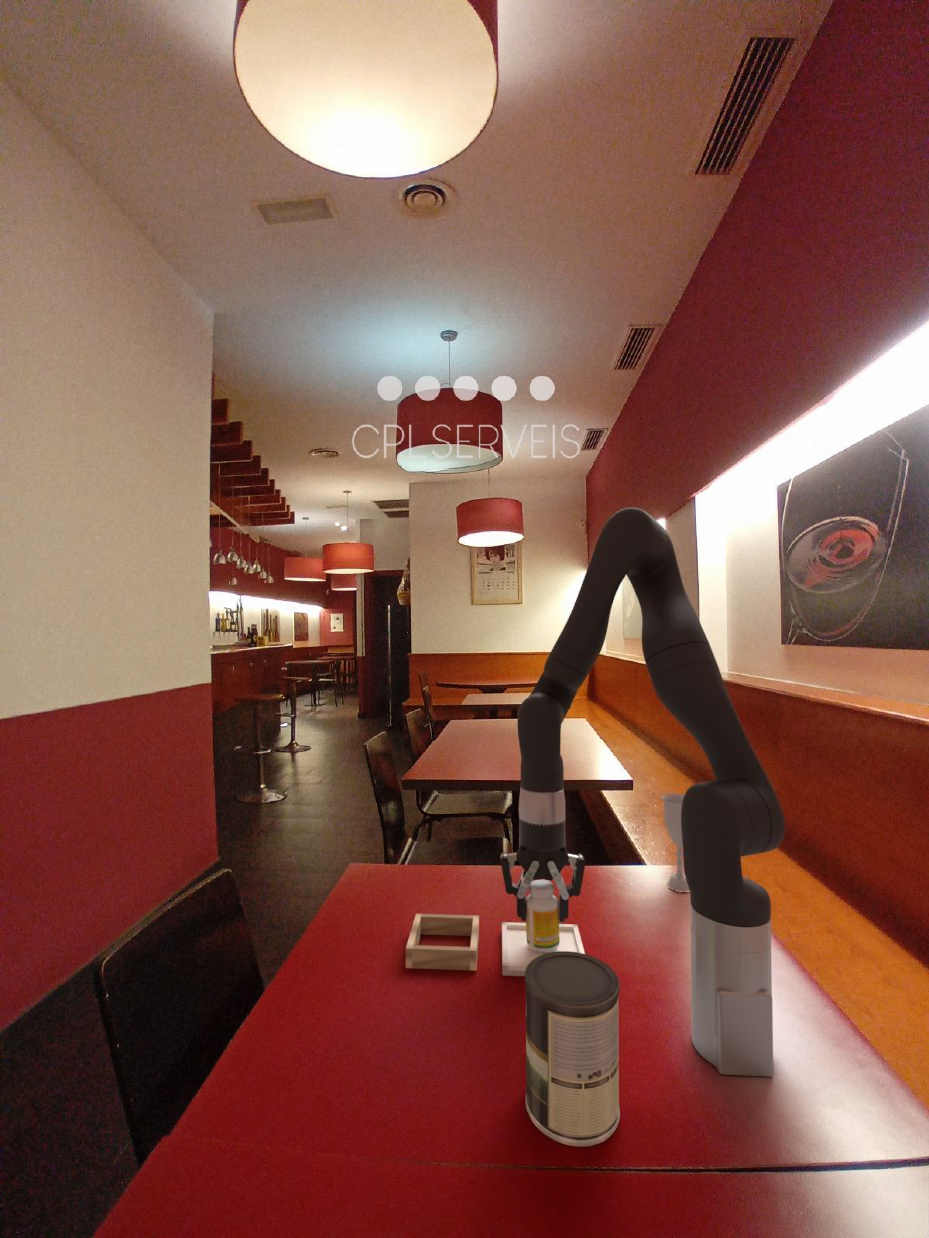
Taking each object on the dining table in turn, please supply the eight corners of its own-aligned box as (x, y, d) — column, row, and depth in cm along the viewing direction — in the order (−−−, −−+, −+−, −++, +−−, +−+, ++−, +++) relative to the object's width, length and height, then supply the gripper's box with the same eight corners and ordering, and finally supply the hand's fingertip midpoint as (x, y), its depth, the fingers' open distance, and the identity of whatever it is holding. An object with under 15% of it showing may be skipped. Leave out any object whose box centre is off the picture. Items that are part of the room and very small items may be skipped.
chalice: (703, 895, 113) (702, 804, 113) (669, 895, 113) (668, 803, 114) (689, 879, 120) (689, 793, 121) (657, 879, 120) (656, 793, 121)
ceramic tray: (588, 978, 86) (588, 968, 86) (502, 975, 86) (502, 965, 86) (577, 933, 99) (577, 924, 99) (502, 930, 99) (502, 922, 99)
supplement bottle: (519, 943, 93) (517, 884, 93) (542, 932, 96) (540, 874, 97) (544, 957, 89) (541, 894, 89) (567, 944, 92) (564, 884, 92)
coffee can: (506, 1111, 62) (506, 979, 62) (555, 1057, 70) (554, 940, 70) (593, 1168, 55) (592, 1020, 56) (636, 1101, 63) (635, 972, 64)
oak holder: (476, 970, 88) (476, 950, 88) (405, 967, 88) (405, 948, 88) (478, 933, 99) (478, 915, 99) (416, 930, 99) (416, 913, 99)
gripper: (498, 821, 90) (498, 930, 89) (590, 823, 89) (590, 933, 88) (498, 807, 97) (498, 907, 97) (583, 808, 96) (583, 909, 96)
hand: (542, 919), depth 93 cm, fingers open, 5 cm apart
